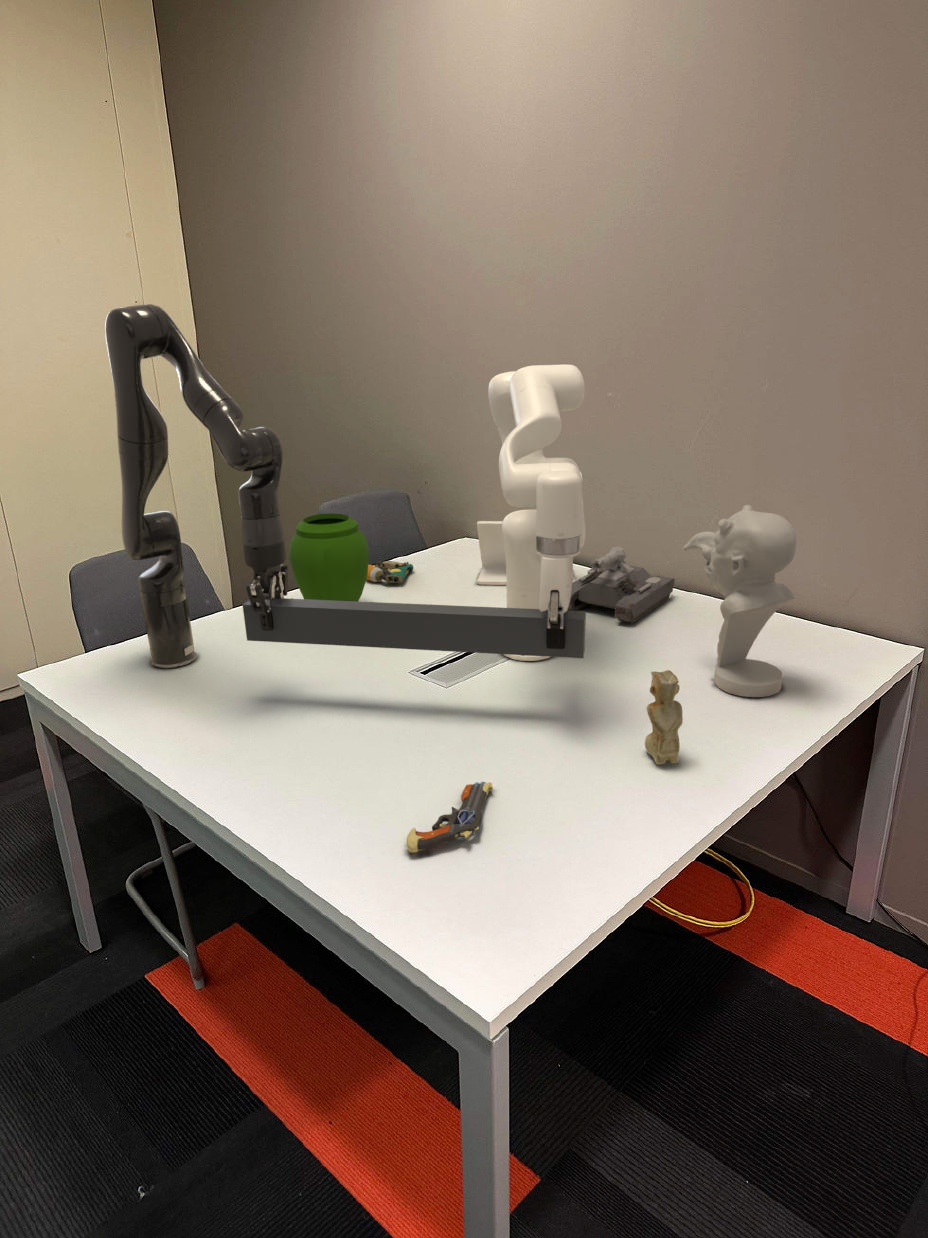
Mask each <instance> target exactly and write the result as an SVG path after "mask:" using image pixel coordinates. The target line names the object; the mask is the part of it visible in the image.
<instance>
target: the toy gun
mask: <svg viewBox="0 0 928 1238" xmlns="http://www.w3.org/2000/svg"><path fill="white" fill-rule="evenodd" d="M493 789H494V787H493V783H492V782H485V781H481V782H480V783H479V782H474V783H473V784H471V783H470V784H468V783H467V784H466V785H465V786H464V788H463V790H462V793H461V795H460V798H461V800H460V801H461V802H462V803H461V806H460V807H459V808H458V809H457V808H456V807H455V806H451V813H449V814H442V815H440V816H438V819H437V821H436V822H435V823H434V824H432V826H431V830H430V831H418V830H416V827H413V828H411V829H410V831H409V832H408V834H407V836H406V845H407V850H408V852H409V853H418V852H419V851H424V850H428V849H432V848H435V847H437V846H440V845H442V844H447V843H450V842H453V841H455V840H458V839H459V838H462V837H464V839H465V840H466V839H468V838H469V837H470V836H471V835H473V834H472V833H473V832H474V831H477V830H479V828H480V824H481V821H482V817H483V808H484V804H485V802H486V799H487V797H488V795H489V792H492V791H493ZM444 822H446V823H447V824H446V825H444V824H443V823H444Z"/></svg>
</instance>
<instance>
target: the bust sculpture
mask: <svg viewBox="0 0 928 1238" xmlns="http://www.w3.org/2000/svg"><path fill="white" fill-rule="evenodd" d="M697 549H698V550H701V551H702V556H703V558H704V559H705V561H706V562H705V563H704V571H705V573H706V576H707V578H708V580H709V581H710V584H711V585H712V587H713V588H714V589H716V590H717V591H718V592H719V593H720V594H721V595H722V596H724V599H723V600H722V602H721V603H720V605H719V606H720V607H719V609H720V613H721V617H722V619H723V622H722V624H721V627H720V631H719V634H718V642H717V648H716V652H717V653H716V654H717V657H716V659H717V660H716V666H715V667H714V678H713V679H714V680H713V682H714V684H715V686H717V687H718V688H719V689H720V690H722V691H723V692H726V693H728V694H732V695H735V696H740V697H745V698H746V697H747V698H765V697H770V696H774V695H776V694H777V693H779V692H780V691H781V689H782V684H783V676H784V675H783V672H782V671H781V669H779V668H778V667H777V666H775V665H773V664H771V663H768V662H766V661H762V660H758V659H752V658H748V655H749V652H750V650H751V648H752V647H753V645H754V642H755V641H756V640H757V637H758V636H759V634H760V633H761V631H762V630H763V628H764V627H765V626H766V624H767V623H768V621H769V620H770V619H771V617H772V616H773V615H774V614H775V613H776V612H777V611H779V609H780V608H781V607H783V606H784V605H785V604H787V603H788V602H790V601H791V600H794V599H796V596H795V594H794V593H793V591H792V590H791V589H790V588H789V586H788V585H785V584H783V583H779V582H776V574H778V573H780V572H782V571H784V570H785V569H786V568H787V567H788V566H789V565H790V564H791V563H792V561H793V560H794V557H795V554H796V551H797V550H796V549H797V534H796V531H795V529H794V527H793V525H792V524H791V523H790V522H789V521H788V520H787V519H786V518H785V517H783V516H781V515H779V514H777V513H771V512H763V511H761V512H760V511H755V510H754V508H753V507H752V506H751V504H745V505H743V507H742V509H741V510H739V511H737V512H735V513H734V514H733V515H731V516H730V517H729V518H727V519H726V518H721V519H720V520H719V521H718V528H717V530H716V532H713V531H701V532H698V533H696V534H695V535H693V536H692V537H691V538H690V539H689V541H688V542H687V543H686V544H684V546H683V547H682V550H683V552H687V551H692V550H697Z"/></svg>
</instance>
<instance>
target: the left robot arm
mask: <svg viewBox="0 0 928 1238" xmlns="http://www.w3.org/2000/svg"><path fill="white" fill-rule="evenodd" d="M104 331H105V332H104V333H105V342H106V348H107V349H106V350H107V354H108V360H109V366H110V371H111V377H112V384H113V392H114V401H115V402H114V403H115V413H116V435H117V436H116V437H117V449H118V459H119V466H120V467H119V469H120V478H121V538H122V543H123V547H124V551H125V553H126V554H127V556H128V557H129V558H130V559H131V560H134V561H142V560H148V559H149V560H150V559H153V558H158V560H157V562H155V563H154V564H153V565H152V566H151V567H149V568H148V569H147V570H144V571H143V572H142V573H141V574H140V575H139V576H138V578H137V582H138V588H139V593H140V594H139V595H140V600H141V606H142V611H143V617H144V624H145V628H146V634H147V641H148V647H149V651H150V652H149V653H150V659H151V660H150V661H151V665H152V666H153V667H156V668H160V669H173V668H180V667H183V666H186V665H189V664H192V663H193V662H194V661H195V660H196V659H197V654H196V651H195V644H194V636H193V630H192V623H191V616H190V610H189V602H188V597H187V591H186V584H185V576H184V575H185V570H184V568H185V567H184V560H183V550H182V539H181V532H180V527H179V524H178V521H177V519H176V517H175V515H174V514H173V513H172V512H170V510H169V511H168V510H159V511H154V512H153V511H152V512H148V513H145V509H146V504H147V500H148V498H149V495H150V493H151V491H152V489H153V488H154V486H155V485H156V483H157V481H158V480H159V478H160V476H161V475H162V474H163V471H164V469H165V467H166V465H167V463H168V460H169V435H168V434H169V433H168V425H167V423H166V420H165V417H163V414H162V413H161V412H160V410H159V408H158V407H157V406H156V405H155V403H154V402H153V401H152V399H151V398H150V396H149V395H148V393H147V392H146V390H145V387H144V383H143V375H142V367H141V365H142V360H145V359H150V358H157V357H162V358H163V359H164V360H166V361H167V362H168V363H169V364H170V365H171V366H172V367H173V368H174V369H175V371H176V373H177V376H178V381H179V388H180V392H181V396H182V399H183V401H184V403H185V405H186V407H187V408H188V409H189V411H190V412H191V413H192V415H193V416H194V417H195V418H196V419H197V421H199V422H200V423H201V424H202V426H203V427H204V428H206V430H208V432H209V433H210V435H211V437H212V440H213V442H214V444H215V446H216V447H217V449H218V451H219V453H220V455H221V457H222V458H223V461H225V463H226V464H227V465H228V466H229V467H230V468H232V469H233V470H235V471H237V472H240V473H248V472H251V474H250V478H249V479H248V480H247V481H246V482H244V483H243V484H242V485H240V487H239V488H238V503H239V510H240V522H241V523H240V527H241V528H240V530H241V531H240V532H241V539H242V547H243V556H244V564H245V565H246V566H247V567H248V568H250V569H252V570H253V577H252V579H253V580H252V581H253V582H252V584H246V589H245V590H246V593H247V596H248V600H250V603H251V607H252V610H253V612H259V613H260V620H261V628H262V630H263V631H272V630H273V629H274V625H273V616H272V600H273V599H274V598H285V597H286V596H288V590H289V589H288V586H289V585H288V584H289V583H288V581H289V580H288V579H289V574H288V573H289V572H288V571H289V566H288V564H285V563H286V562H287V553H286V552H287V551H286V543H285V534H284V533H285V532H284V525H283V520H282V517H281V509H280V500H279V499H280V498H279V486H280V481H281V475H282V466H283V458H284V450H283V445H282V441H281V440H280V437H279V436H278V434H277V433H276V431H274V430H273V429H272V428H270V427H267V426H259V427H255V428H249V429H241V428H240V427H241V425H242V424H243V421H244V418H245V417H244V412H243V410H242V408H241V406H240V405H239V404H238V403H237V402H236V401H235V400H234V399H233V398H232V397H231V396H230V394H229V393H227V391H226V390H225V389H223V387H222V386H221V385H220V384H219V383H218V382H217V381H216V380H215V378H213V376H212V375H211V374H210V372H209V371H208V370H207V368H206V367H205V365H204V364H203V363H202V360H201V359H200V358H199V356H198V355H197V354H196V352H195V350H194V349H193V347H192V346H191V344H190V343H189V342H188V340H187V339H186V337H185V336H184V334H183V333H182V331H181V330H180V328H179V327H178V325H177V324H176V322H174V320H173V318H172V317H171V316H170V315H169V314H168V312H167V311H166V310H164V309H163V308H162V307H161V306H159V305H156V304H154V303H153V304H148V303H146V304H138V305H130V306H123V307H116V308H113V309H111V310H110V311H109V312H108V313H107V315H106V319H105V325H104ZM264 594H267V595H264ZM265 600H267V605H266V601H265ZM256 603H257V604H256Z"/></svg>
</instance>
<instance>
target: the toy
mask: <svg viewBox="0 0 928 1238" xmlns="http://www.w3.org/2000/svg"><path fill="white" fill-rule="evenodd" d="M626 557H627V556H626V551H625V549H624V548H622V547H621V546H614V547H612V548H611V549H610V550H609V552H608V553H607V554H605V555H604V556H601V557H599V558H598V559H597V557H596V558H594V559H593V560H592V561H590V562H589V563H590V564H591V565H592V567H591V568H590V569H589V570H587V573H586V575H584V576H582V577H580V578H578V579H577V580H575V581H572V591H571V598H570V602H569V606H568V610H570V611H580V610H581V609H582V608H585V607H586V606H588V605H592V606H598V607H602V608H603V607H604V608H609V609H613V610H614V618H615V619H617V620H618V621H621V622H626V623H631V624H634V623H635V622H637V621H638V620H640V619H641V618H642V617H644V616H645V615H647V614H648V613H650V612H651V611H652V610H654V609H655V608H657V607H659V606H660V605H661V604H663V603H664V602H666V601H667V600H669V598H670V596H671V594H672V593H673V591H674V585H675V580H676V579H675V578H673V577H668V576H663V575H656V576H655V577H654V576H651V574H650V573H649V572H648V571H647V570H646V568H644V567H641V566H635V565H629V564H628V563H627V562H626V561H625V559H626Z"/></svg>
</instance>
